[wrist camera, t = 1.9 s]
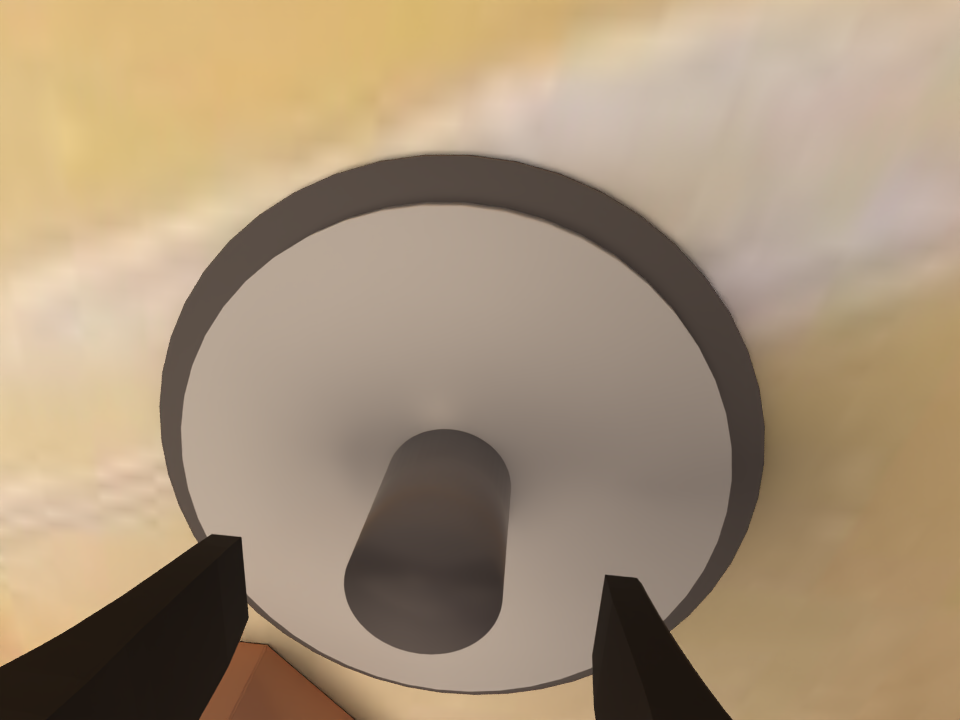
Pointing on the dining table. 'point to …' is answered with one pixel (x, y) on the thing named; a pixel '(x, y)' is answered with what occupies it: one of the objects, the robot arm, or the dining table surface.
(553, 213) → the mat
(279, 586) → the lid
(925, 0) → the dining table surface
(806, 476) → the dining table surface
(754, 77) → the dining table surface
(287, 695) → the bowl
